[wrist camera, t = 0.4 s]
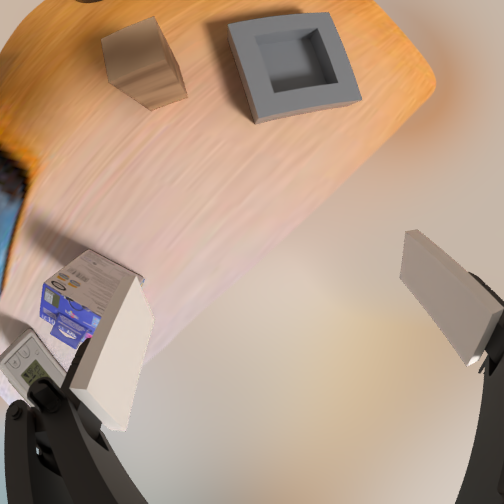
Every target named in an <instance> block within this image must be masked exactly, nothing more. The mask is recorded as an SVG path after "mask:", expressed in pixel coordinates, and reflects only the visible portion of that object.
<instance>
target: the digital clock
mask: <svg viewBox="0 0 504 504" xmlns="http://www.w3.org/2000/svg"><path fill="white" fill-rule="evenodd" d="M0 369H1V371H2V372H3V373H4V375H5V376H6V377H7V378H8V381H9V382H10V383H11V384H12V386H13V387H14V388H15V389H16V390H17V392H18V393H19V394H20V395H21V396H22V397H23V398H24V399H25V401H26V402H27V403H28V404H29V405H30V406H31V407H35V406H34V405H33V404H32V403H31V402H30V401H29V400H28V399H27V392H28V389H29V387H30V386H31V384H32V383H33V382H34V381H35V380H37V379H38V378H41V377H49V378H51V379H52V380H53V381H54V382H55V383H56V385H57V386H58V387H59V388H61V386H62V383H63V381H64V379H65V376H66V374H67V372H66V371H65V370H64V369H63V368H62V366H61V365H60V364H59V363H58V362H57V360H56V359H55V358H54V357H53V355H52V354H51V353H50V351H49V350H48V349H47V347H46V346H45V345H44V343H43V342H41V341H40V339H39V338H38V337H37V335H36V334H35V332H34V331H33V330H32V329H28V330H26V331H25V332H24V333H23V334H22V335H21V336H20V337H19V338H18V339H16V340H15V341H14V342H13V343H12V344H11V345H10V346H9V347H8V348H7V349H6V350H5V351H4V352H3V353H2V354H1V355H0Z"/></svg>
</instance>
